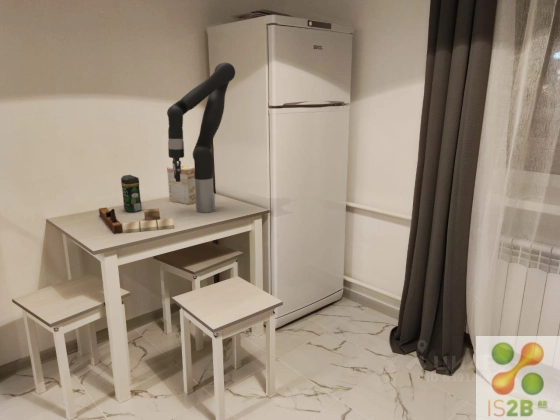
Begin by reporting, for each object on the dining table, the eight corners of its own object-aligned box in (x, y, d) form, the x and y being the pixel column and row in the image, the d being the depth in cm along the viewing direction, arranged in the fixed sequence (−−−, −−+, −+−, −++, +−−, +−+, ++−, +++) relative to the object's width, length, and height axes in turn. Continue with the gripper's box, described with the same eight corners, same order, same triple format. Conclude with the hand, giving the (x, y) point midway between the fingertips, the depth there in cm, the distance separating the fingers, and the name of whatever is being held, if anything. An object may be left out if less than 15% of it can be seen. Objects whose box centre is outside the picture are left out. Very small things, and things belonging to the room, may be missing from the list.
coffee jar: (121, 209, 232) (118, 175, 227) (136, 207, 237) (133, 173, 232) (129, 213, 225) (125, 177, 220) (144, 210, 230) (140, 175, 225)
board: (172, 221, 211) (172, 218, 211) (174, 228, 201) (174, 225, 201) (123, 225, 205) (123, 222, 205) (123, 233, 195) (123, 229, 194)
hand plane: (126, 232, 197) (124, 211, 194) (114, 234, 194) (112, 212, 191) (107, 215, 224) (105, 195, 221) (96, 216, 221) (94, 197, 218)
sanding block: (159, 218, 217) (158, 208, 216) (160, 220, 213) (159, 210, 212) (144, 219, 215) (143, 209, 214) (145, 222, 211) (144, 212, 210)
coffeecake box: (197, 201, 247) (195, 167, 242) (188, 204, 241) (186, 169, 236) (178, 198, 255) (175, 165, 249) (169, 201, 249) (166, 167, 244)
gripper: (185, 149, 211) (186, 182, 215) (182, 145, 224) (183, 177, 229) (169, 149, 209) (170, 183, 213) (167, 146, 222) (168, 177, 226)
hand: (177, 180), depth 221 cm, fingers open, 8 cm apart
